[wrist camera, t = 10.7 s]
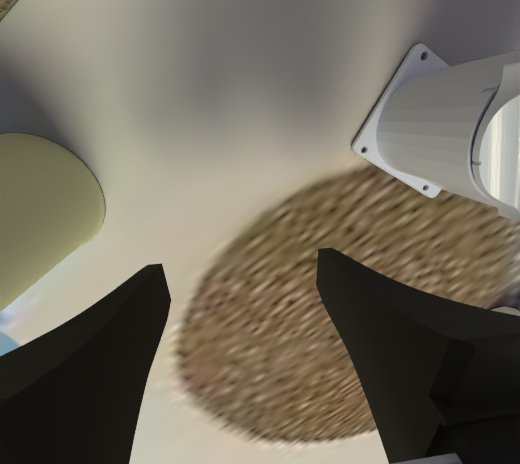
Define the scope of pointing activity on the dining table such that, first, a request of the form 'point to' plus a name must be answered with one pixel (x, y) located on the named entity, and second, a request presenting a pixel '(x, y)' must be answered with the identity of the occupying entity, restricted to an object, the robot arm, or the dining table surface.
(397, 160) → the robot arm
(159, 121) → the dining table surface
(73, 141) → the dining table surface
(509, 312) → the white cup
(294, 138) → the dining table surface
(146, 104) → the dining table surface
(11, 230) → the can
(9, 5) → the coffee box
